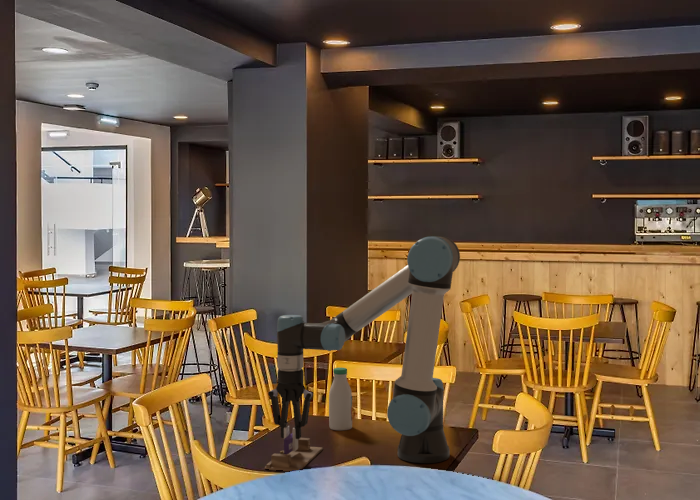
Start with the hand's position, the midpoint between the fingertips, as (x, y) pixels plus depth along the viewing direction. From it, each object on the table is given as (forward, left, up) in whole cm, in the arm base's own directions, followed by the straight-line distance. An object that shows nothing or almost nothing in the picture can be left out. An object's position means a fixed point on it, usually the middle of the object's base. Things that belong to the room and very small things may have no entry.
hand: (291, 449), depth 223 cm
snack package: (0, 0, -1) cm, 1 cm away
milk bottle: (+14, -34, -3) cm, 37 cm away
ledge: (-1, -1, -3) cm, 3 cm away
